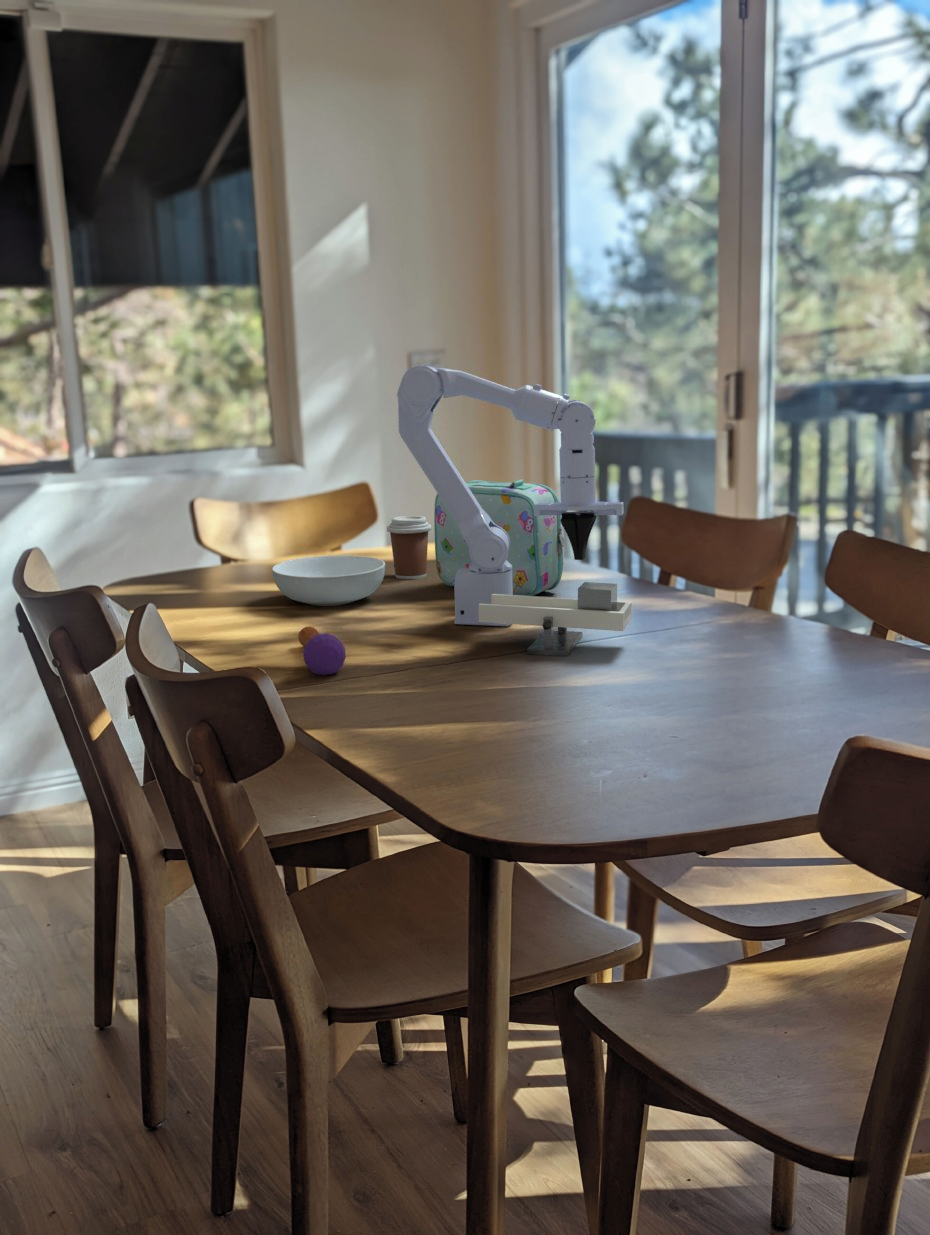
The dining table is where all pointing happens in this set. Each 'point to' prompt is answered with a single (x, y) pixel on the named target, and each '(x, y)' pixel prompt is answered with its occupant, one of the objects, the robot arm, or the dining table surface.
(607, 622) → the balance beam
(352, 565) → the serving bowl
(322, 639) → the kendama
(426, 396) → the robot arm
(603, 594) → the block
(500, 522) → the lunch box
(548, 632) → the beam stand
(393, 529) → the coffee cup
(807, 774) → the dining table surface
